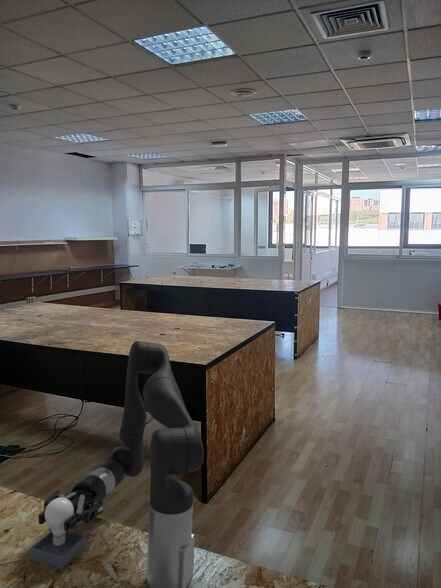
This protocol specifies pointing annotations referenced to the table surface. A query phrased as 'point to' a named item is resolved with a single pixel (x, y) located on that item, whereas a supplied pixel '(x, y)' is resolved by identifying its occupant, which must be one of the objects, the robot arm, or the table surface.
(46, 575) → the table surface
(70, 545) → the walled box
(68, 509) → the lightbulb
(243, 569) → the table surface
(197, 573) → the table surface
